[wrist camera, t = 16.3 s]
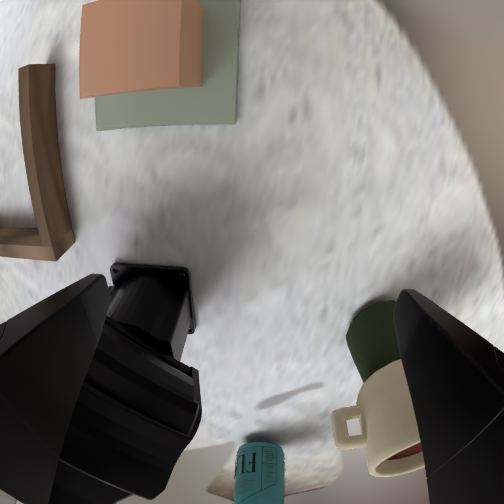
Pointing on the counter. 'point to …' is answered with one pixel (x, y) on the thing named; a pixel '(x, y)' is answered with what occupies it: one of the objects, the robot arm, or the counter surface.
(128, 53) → the block
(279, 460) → the beverage bottle
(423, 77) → the counter surface
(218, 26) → the mat
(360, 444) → the character mug
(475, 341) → the robot arm
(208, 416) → the counter surface
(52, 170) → the stall
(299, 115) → the counter surface
